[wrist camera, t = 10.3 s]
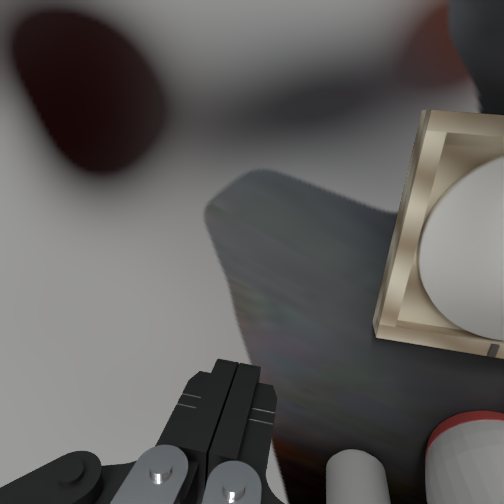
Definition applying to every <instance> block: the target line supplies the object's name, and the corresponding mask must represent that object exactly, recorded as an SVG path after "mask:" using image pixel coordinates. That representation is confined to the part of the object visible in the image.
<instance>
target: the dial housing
mask: <svg viewBox="0 0 504 504" xmlns="http://www.w3.org/2000/svg"><path fill="white" fill-rule="evenodd" d="M503 154H504V115H494V114H481V113H468V112H455V111H442V110H422V113H421V117H420V121H419V126H418V130H417V134H416V138H415V143H414V147H413V151H412V156H411V160H410V164H409V168H408V172H407V177H406V181H405V185H404V190H403V194H402V198H401V202H400V207H399V211H398V215H397V219H396V224H395V228H394V232H393V236H392V241H391V245H390V249H389V253H388V258H387V262H386V266H385V271H384V275H383V279H382V283H381V288H380V292H379V296H378V300H377V305H376V309H375V313H374V317H373V322H372V323H373V327H374V331H375V335H376V338H382V339H388V340H394V341H400V342H406V343H412V344H418V345H424V346H430V347H436V348H442V349H448V350H454V351H460V352H466V353H472V354H478V355H484V356H488V357H494V358H495V357H496V358H502V359H504V341H503V340H496V339H491V338H487V337H483V336H479V335H477V334H474V333H471V332H469V331H467V330H465V329H463V328H461V327H459V326H457V325H456V324H454V323H453V322H452V321H450V320H449V319H447V318H446V317H445V316H444V315H443V314H442V313H441V312H440V311H439V310H438V308H437V307H436V306H435V305H434V303H433V302H432V300H431V299H430V297H429V295H428V294H427V292H426V290H425V288H424V287H423V284H422V282H421V279H420V276H419V272H418V267H417V245H418V240H419V236H420V232H421V229H422V226H423V224H424V221H425V219H426V217H427V216H428V214H429V212H430V210H431V208H432V207H433V206H434V204H435V203H436V201H437V200H438V199H439V197H440V196H441V195H442V194H443V193H444V192H445V191H446V190H447V189H448V188H449V187H450V186H451V185H452V184H453V183H454V182H455V181H457V180H458V179H459V178H460V177H461V176H463V175H464V174H466V173H467V172H469V171H470V170H472V169H473V168H475V167H477V166H478V165H480V164H482V163H484V162H486V161H488V160H490V159H493V158H495V157H498V156H500V155H503Z"/></svg>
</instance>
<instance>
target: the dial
mask: <svg viewBox="0 0 504 504" xmlns="http://www.w3.org/2000/svg"><path fill="white" fill-rule="evenodd" d="M417 267H418V272H419V276H420V279H421V282H422V284H423V287H424V288H425V290H426V292H427V294H428V295H429V297H430V299H431V300H432V302H433V303H434V305H435V306H436V307H437V308H438V310H439V311H440V312H441V313H442V314H443V315H444V316H445V317H446V318H447V319H449V320H450V321H452V322H453V323H454V324H456V325H457V326H459V327H461V328H463V329H465V330H467V331H469V332H471V333H474V334H477V335H479V336H483V337H487V338H491V339H496V340H503V341H504V154H503V155H500V156H498V157H495V158H493V159H490V160H488V161H486V162H484V163H482V164H480V165H478V166H477V167H475V168H473V169H472V170H470V171H469V172H467V173H466V174H464V175H463V176H461V177H460V178H459V179H458V180H457V181H455V182H454V183H453V184H452V185H451V186H450V187H449V188H448V189H447V190H446V191H445V192H444V193H443V194H442V195H441V196H440V197H439V199H438V200H437V201H436V203H435V204H434V206H433V207H432V208H431V210H430V212H429V214H428V216H427V217H426V219H425V221H424V224H423V226H422V229H421V232H420V236H419V240H418V245H417Z"/></svg>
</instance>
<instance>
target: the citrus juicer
mask: <svg viewBox="0 0 504 504" xmlns="http://www.w3.org/2000/svg"><path fill="white" fill-rule="evenodd" d="M425 468H426V469H425V485H426V497H427V503H428V504H504V414H503V413H499V412H493V411H470V412H464V413H461V414H457V415H455V416H452V417H450V418H448V419H446V420H445V421H443V422H442V423H440V424H439V425H438V426H437V427H436V428H435V429H434V430H433V432H432V434H431V435H430V438H429V441H428V444H427V449H426V454H425Z"/></svg>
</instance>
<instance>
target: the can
mask: <svg viewBox="0 0 504 504" xmlns="http://www.w3.org/2000/svg"><path fill="white" fill-rule="evenodd" d="M326 504H391V502H390V497H389V491H388V485H387V479H386V474H385V469H384V467H383V465H382V463H380V462H379V461H378V460H377V459H376V458H375V457H373V456H372V455H370V454H368V453H366V452H364V451H361V450H357V449H348V450H343V451H341V452H339V453H337V454H335V455H333V456H332V457H331V458H330V459H329V461H328V463H327V466H326Z"/></svg>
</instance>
